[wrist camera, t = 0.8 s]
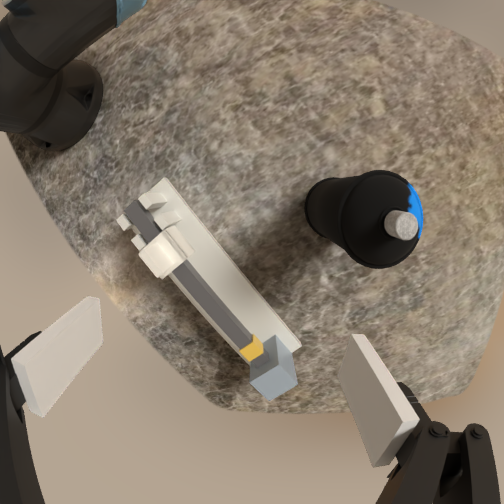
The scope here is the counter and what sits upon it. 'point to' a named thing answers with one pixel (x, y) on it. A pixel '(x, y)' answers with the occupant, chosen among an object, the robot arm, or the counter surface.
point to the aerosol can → (367, 216)
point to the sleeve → (166, 252)
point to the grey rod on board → (219, 289)
